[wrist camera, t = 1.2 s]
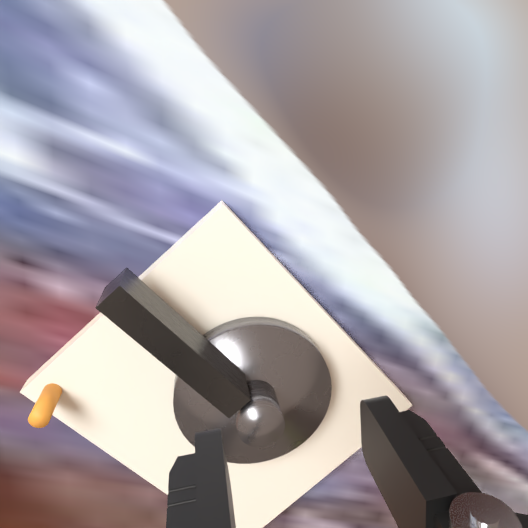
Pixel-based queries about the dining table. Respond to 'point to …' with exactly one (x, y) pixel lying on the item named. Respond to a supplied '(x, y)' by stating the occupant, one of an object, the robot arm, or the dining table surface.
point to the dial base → (162, 378)
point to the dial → (229, 372)
